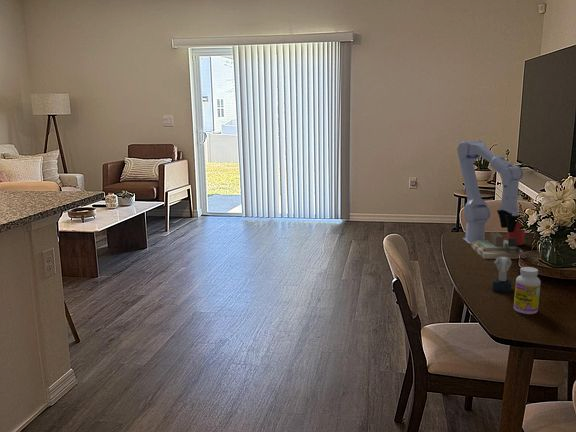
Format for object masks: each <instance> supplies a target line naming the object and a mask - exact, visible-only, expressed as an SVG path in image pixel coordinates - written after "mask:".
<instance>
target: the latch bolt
mask: <svg viewBox="0 0 576 432" xmlns="http://www.w3.org/2000/svg"><path fill="white" fill-rule="evenodd" d="M505 246H506V247H509V248H510V249H516V247H517V245H516V238H509V242H508V243H505Z"/></svg>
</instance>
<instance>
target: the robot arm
mask: <svg viewBox="0 0 576 432" xmlns="http://www.w3.org/2000/svg"><path fill="white" fill-rule="evenodd" d="M456 150H457V155H458V160H459V165H460V170H461V176H462V179H463V180H462V181H463V183H464V189H465V194H466V199H467V202H466V203H465V205H464V206H463V208H464V212H463V213H464V214H463V215H464V216H463V217H464V220H465V221H466V225H465V237H463V238H462V239H463V240H464V241H465V242H466V243H467V244H469V245H471V242H473V241H474V240H485V239H486V238H485V234H486V223H487V222H488V220H489V219H490V217H491V210H490V207H488V203H487V202H486V201H485V200H483V198H482V196H481V193H480V192H481V191H480V187H479V183H478V178H477V173H476V170H475V165H474V164H475V162H476V161H477V160H478V159H479V158H480V157H481V158H483V159H484V160H485V161H487V162H488V163H490V164H489V165H490V168H492V169H493V170H494V171H496V172H497V173H498V174H499V176H500V179H501V184H502V185H501V186H502V194H501V203H500V206H498V208H497V210H496V213H497V214H498V217H499V223H500V228H502V229H505V228H507V229H506V230H507V233H508V232H514V230H515V227H516V224H517V222H515V220H517V218H518V217H520V216H521V215H519V211H518V198H519V197H518V195H519V183H520V180H521V179H522V178H523V176H524V175H523V174H524V172H523V169H522V167H521V166H520V165H514V164H513V163H512V162H509V161H508V160H507V159H505V156H504V155H496V154H494V153H495V152H494V153H493V152H492V151H491V149H489V148H488V147H487V145H486V143H485V142H484V141H482V140H481V139H477V140H463V141H461V142H460V143H459V144H458V147H457V149H456Z"/></svg>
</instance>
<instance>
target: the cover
mask: <svg viewBox="0 0 576 432" xmlns="http://www.w3.org/2000/svg"><path fill="white" fill-rule="evenodd" d="M506 240H507V239H505V238H504V236H503V235H502V234H501V233H499V232H498V231H489V239H484V240H477V242H478V243H479V244H480V245H481V246H482V247H483V248H485V249H506V246H505V243H508V241H506Z"/></svg>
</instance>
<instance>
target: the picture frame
mask: <svg viewBox="0 0 576 432" xmlns="http://www.w3.org/2000/svg"><path fill="white" fill-rule="evenodd" d="M505 240H506V241H508V240H507V239H505ZM508 242H509V241H508ZM470 247H471V248H472V250H474V251H475V252H476V253H477V254H478V255H479V256H480V257H481V258H483V259H484V260H485V259H486V260H487V259H490V260H491V259H493V260H494V259H495V260H496V259H497V258H498V257H507V258H509V259H510V260H511V259H513V260H514V259H517V260H519V259H518V257H519V255H520V254H522V253H525V251H524V250H521V247H518V246H516V249H510V248H509V247H506V249H485V248H483V247H482V246H481V245H480V244H479V243H478V242H477V240H474V241H473V242H471V244H470Z"/></svg>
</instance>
